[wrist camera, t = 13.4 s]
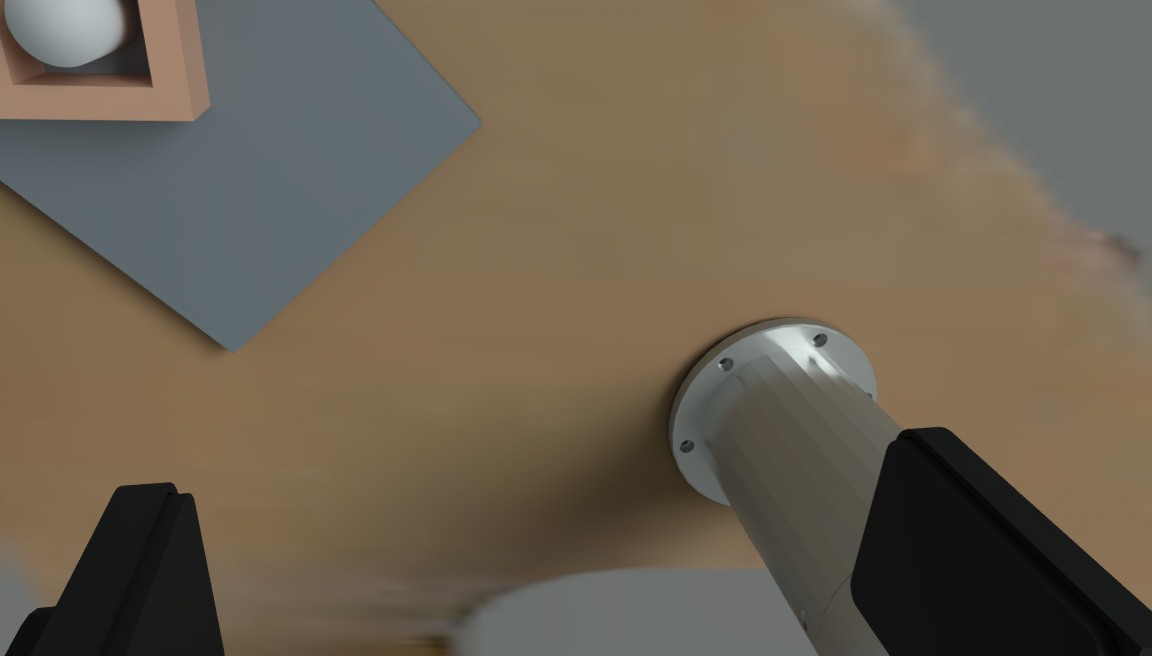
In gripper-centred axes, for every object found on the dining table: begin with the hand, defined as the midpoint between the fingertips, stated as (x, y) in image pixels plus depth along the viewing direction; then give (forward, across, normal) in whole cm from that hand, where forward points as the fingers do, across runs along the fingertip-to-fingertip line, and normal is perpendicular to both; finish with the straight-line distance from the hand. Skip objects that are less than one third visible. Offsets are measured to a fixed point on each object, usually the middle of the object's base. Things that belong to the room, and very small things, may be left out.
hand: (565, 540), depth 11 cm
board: (+28, +11, -1) cm, 30 cm away
